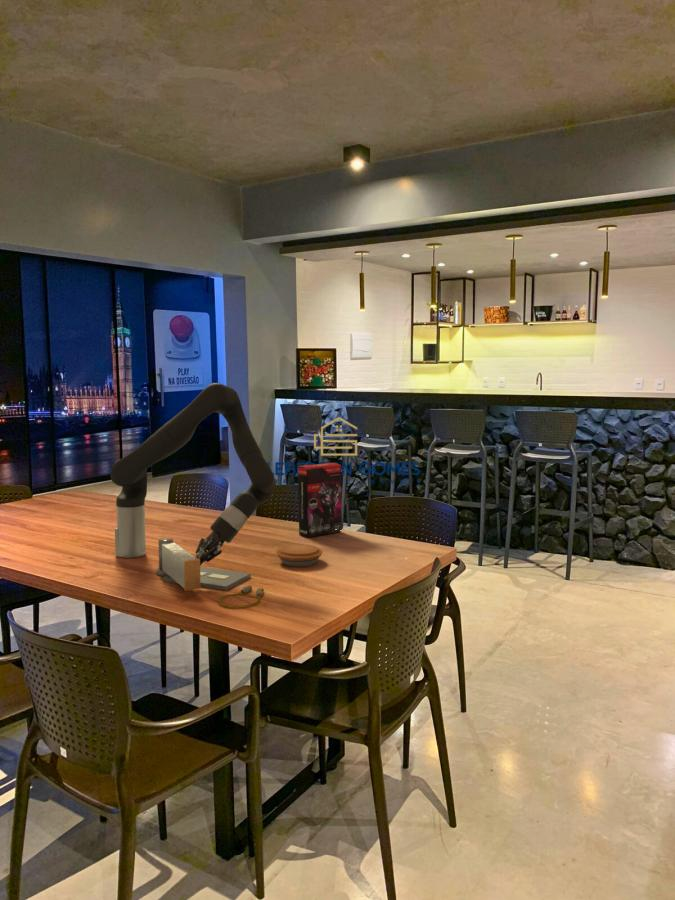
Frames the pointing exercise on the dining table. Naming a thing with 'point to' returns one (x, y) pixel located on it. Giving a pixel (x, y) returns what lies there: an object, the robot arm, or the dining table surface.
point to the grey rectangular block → (179, 564)
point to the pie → (299, 555)
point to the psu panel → (214, 578)
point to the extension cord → (244, 590)
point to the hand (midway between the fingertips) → (191, 569)
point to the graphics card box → (319, 499)
